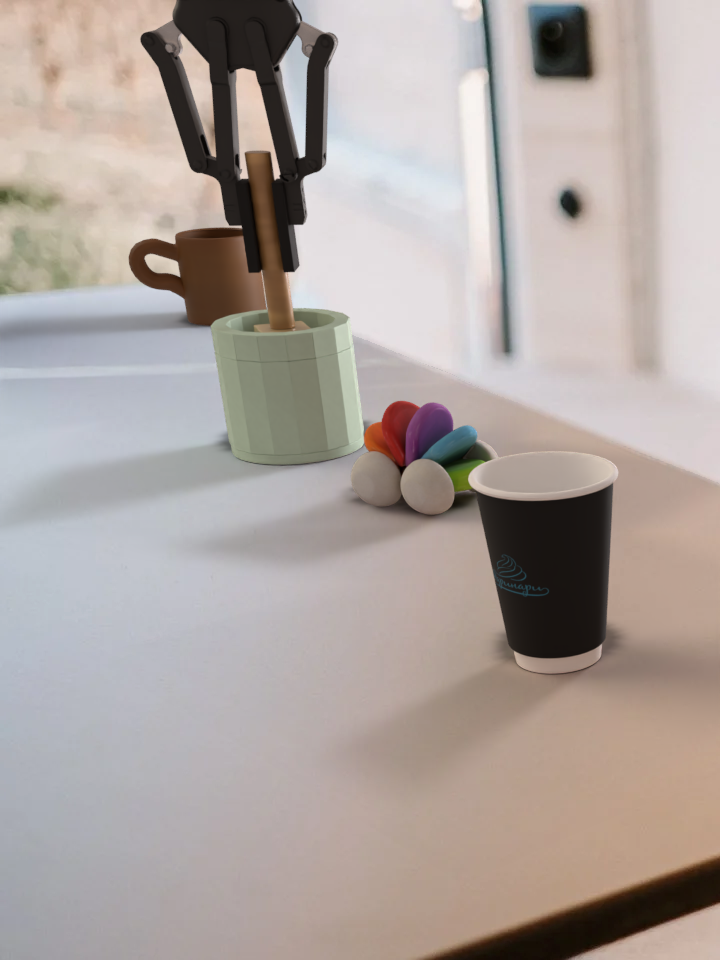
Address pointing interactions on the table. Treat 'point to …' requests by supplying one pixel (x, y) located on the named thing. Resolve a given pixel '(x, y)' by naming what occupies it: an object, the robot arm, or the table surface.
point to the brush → (270, 246)
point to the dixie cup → (549, 553)
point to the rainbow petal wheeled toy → (417, 458)
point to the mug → (204, 273)
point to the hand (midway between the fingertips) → (274, 268)
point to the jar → (289, 388)
